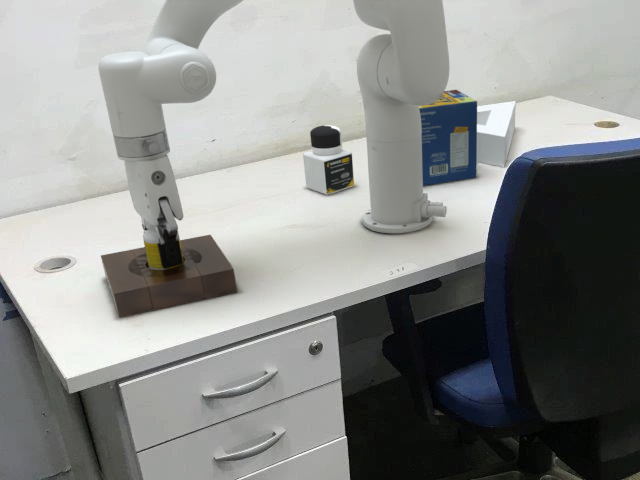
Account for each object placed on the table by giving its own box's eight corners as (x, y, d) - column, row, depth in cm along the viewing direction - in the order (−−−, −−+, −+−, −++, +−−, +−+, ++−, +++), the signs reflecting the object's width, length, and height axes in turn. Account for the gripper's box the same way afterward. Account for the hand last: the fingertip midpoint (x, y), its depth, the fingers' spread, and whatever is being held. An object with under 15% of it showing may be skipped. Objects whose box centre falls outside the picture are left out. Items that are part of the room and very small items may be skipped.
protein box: (389, 174, 176) (386, 98, 168) (458, 164, 179) (458, 88, 171) (406, 189, 167) (403, 109, 159) (477, 178, 171) (478, 99, 163)
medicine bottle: (327, 195, 166) (321, 134, 160) (305, 187, 171) (299, 128, 165) (354, 186, 170) (350, 126, 164) (333, 179, 175) (328, 120, 169)
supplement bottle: (177, 283, 130) (166, 223, 125) (145, 282, 131) (132, 222, 126) (191, 269, 135) (180, 210, 129) (160, 268, 136) (148, 210, 130)
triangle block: (396, 145, 194) (395, 117, 190) (464, 119, 210) (464, 93, 206) (504, 167, 176) (505, 136, 173) (569, 137, 192) (571, 109, 189)
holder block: (214, 256, 143) (210, 234, 141) (237, 292, 130) (233, 268, 128) (106, 278, 137) (100, 255, 135) (119, 317, 125) (113, 293, 122)
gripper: (188, 151, 117) (209, 270, 127) (147, 127, 130) (169, 237, 139) (136, 162, 114) (161, 284, 124) (99, 136, 126) (125, 249, 136)
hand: (165, 258), depth 131 cm, fingers closed on supplement bottle, 5 cm apart
